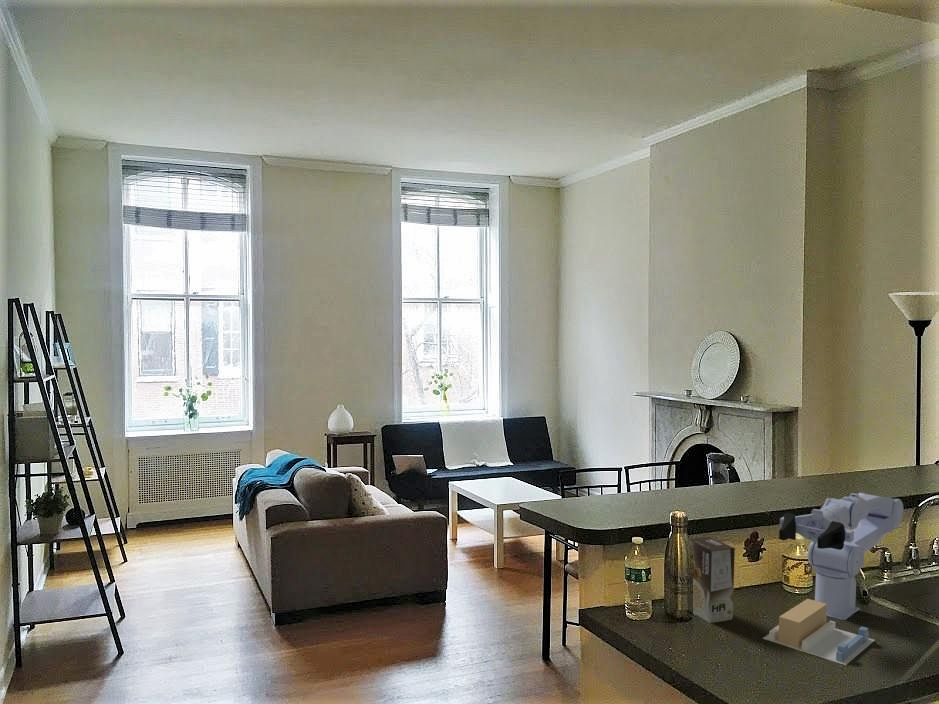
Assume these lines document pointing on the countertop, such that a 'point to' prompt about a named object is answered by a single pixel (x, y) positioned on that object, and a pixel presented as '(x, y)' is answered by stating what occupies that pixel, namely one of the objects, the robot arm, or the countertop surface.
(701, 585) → the coffee box
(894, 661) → the countertop surface
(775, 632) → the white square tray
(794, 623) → the tan bar
